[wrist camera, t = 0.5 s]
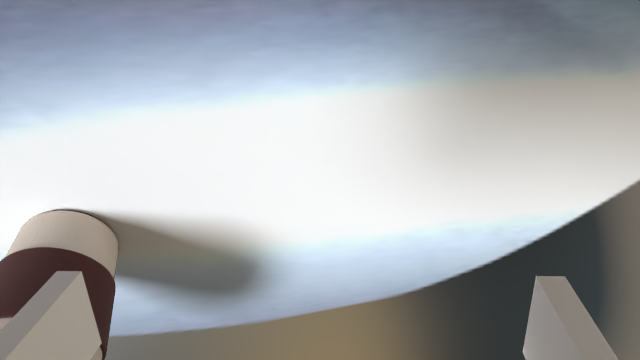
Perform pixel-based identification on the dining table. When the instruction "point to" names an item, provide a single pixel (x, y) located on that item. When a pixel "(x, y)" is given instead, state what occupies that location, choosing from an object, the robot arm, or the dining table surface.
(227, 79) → the dining table surface
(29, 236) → the coffee cup
